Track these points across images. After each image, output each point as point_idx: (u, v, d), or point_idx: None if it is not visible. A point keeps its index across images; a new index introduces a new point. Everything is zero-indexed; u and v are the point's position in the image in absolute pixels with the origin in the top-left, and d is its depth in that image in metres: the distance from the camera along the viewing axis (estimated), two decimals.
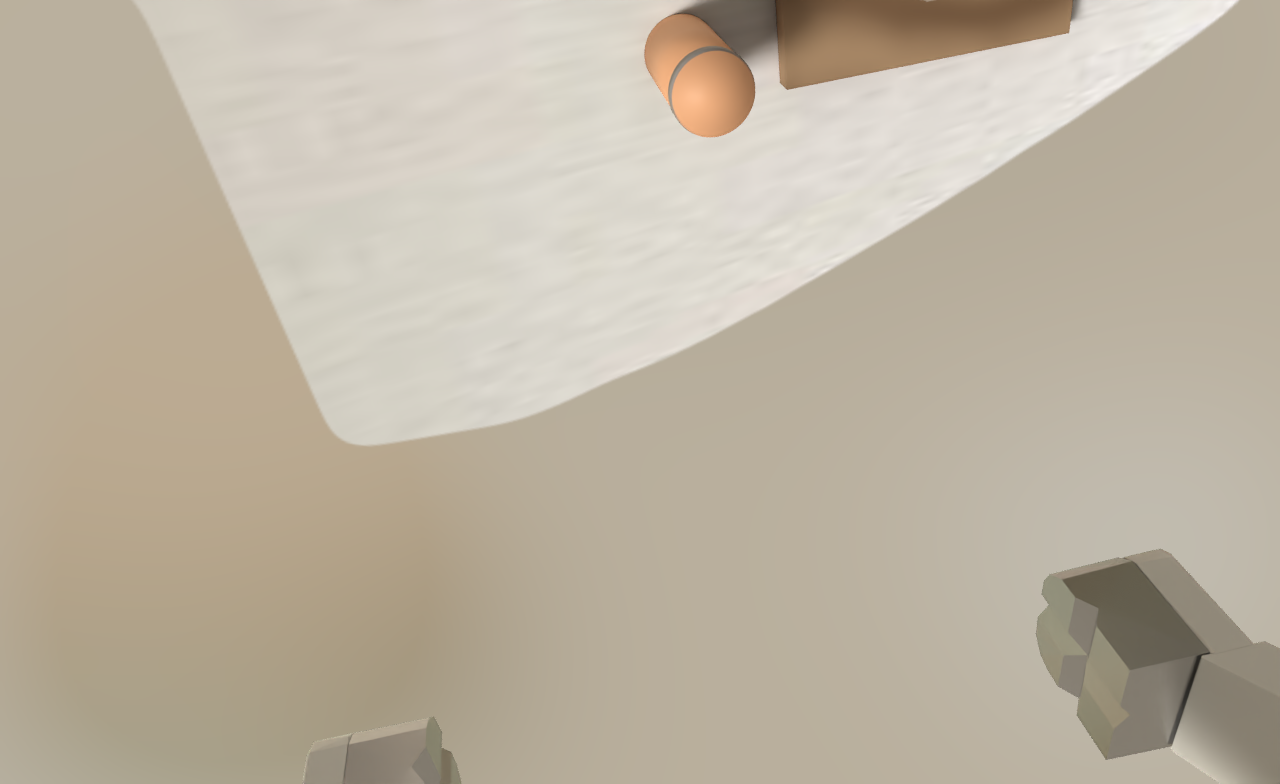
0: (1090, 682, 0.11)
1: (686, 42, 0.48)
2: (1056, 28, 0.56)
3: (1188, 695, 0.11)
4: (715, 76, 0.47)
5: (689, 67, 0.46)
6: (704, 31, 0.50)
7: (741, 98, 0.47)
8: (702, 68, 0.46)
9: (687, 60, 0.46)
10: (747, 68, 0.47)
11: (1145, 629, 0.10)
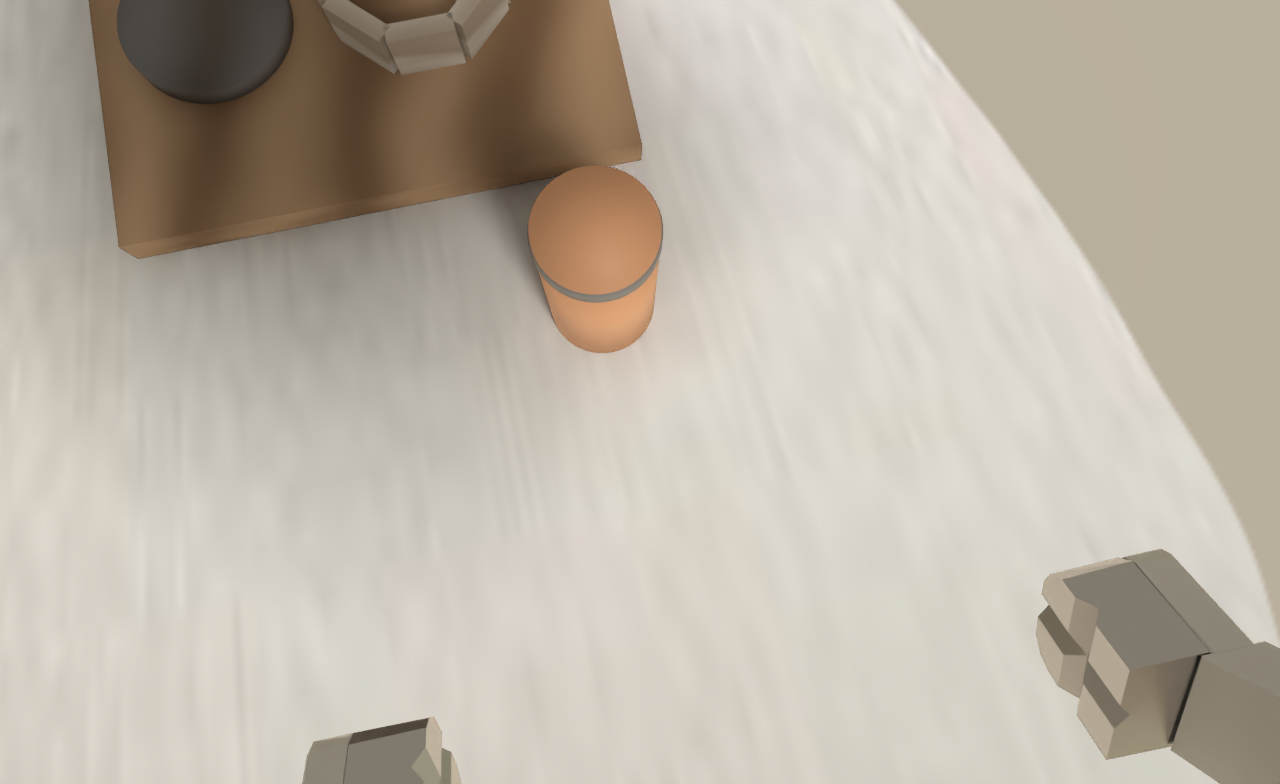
0: (1090, 682, 0.11)
1: (544, 285, 0.32)
2: None
3: (1188, 695, 0.11)
4: (565, 229, 0.30)
5: (552, 270, 0.30)
6: None
7: (599, 185, 0.30)
8: (553, 250, 0.30)
9: (545, 274, 0.30)
10: (553, 181, 0.30)
11: (1145, 629, 0.10)
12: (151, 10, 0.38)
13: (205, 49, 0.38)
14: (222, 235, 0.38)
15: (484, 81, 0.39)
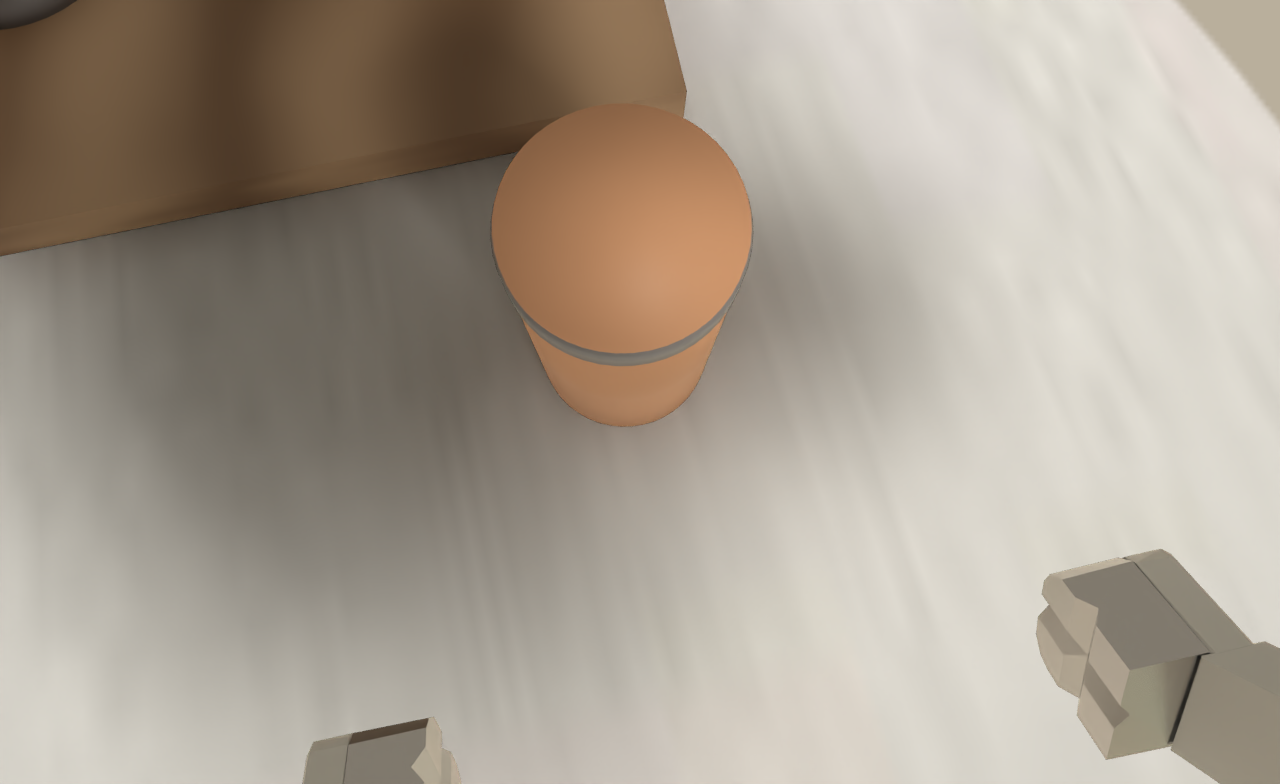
0: (1090, 682, 0.11)
1: (527, 328, 0.18)
2: None
3: (1189, 696, 0.10)
4: (564, 225, 0.15)
5: (538, 306, 0.15)
6: None
7: (628, 141, 0.16)
8: (541, 267, 0.15)
9: (526, 314, 0.15)
10: (540, 134, 0.16)
11: (1145, 629, 0.10)
12: None
13: None
14: (13, 242, 0.24)
15: None
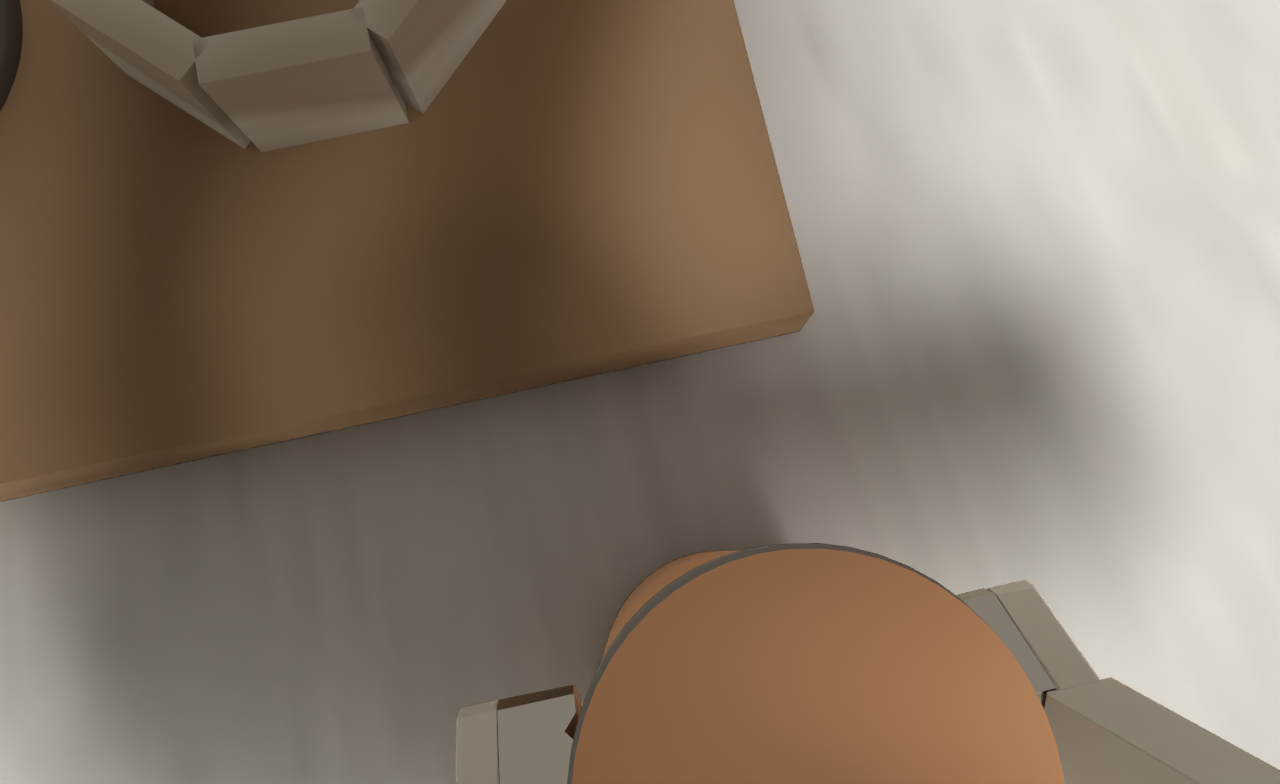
0: None
1: None
2: None
3: None
4: None
5: None
6: None
7: (826, 626, 0.08)
8: None
9: None
10: (659, 612, 0.08)
11: None
12: None
13: None
14: None
15: (450, 165, 0.17)
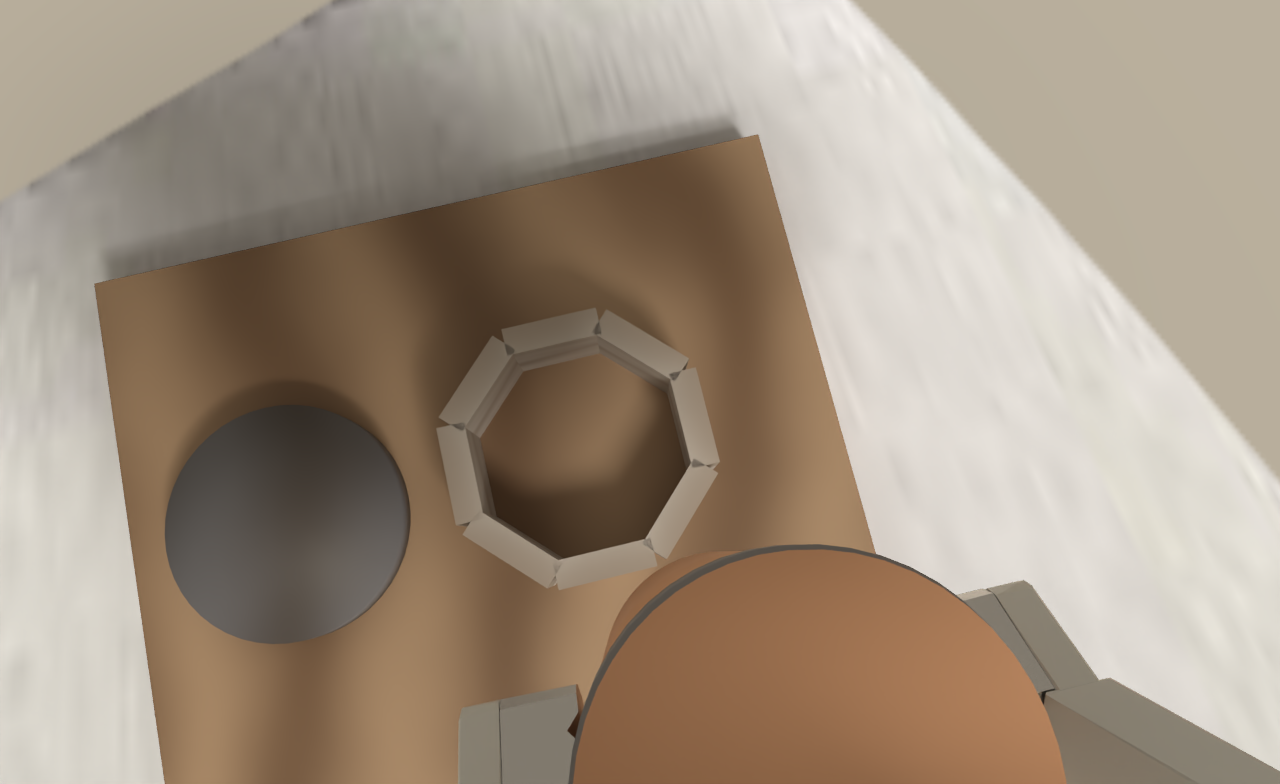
0: None
1: None
2: (752, 161, 0.30)
3: None
4: None
5: None
6: None
7: (828, 627, 0.08)
8: None
9: None
10: (660, 613, 0.08)
11: None
12: (213, 516, 0.27)
13: (292, 575, 0.26)
14: None
15: None
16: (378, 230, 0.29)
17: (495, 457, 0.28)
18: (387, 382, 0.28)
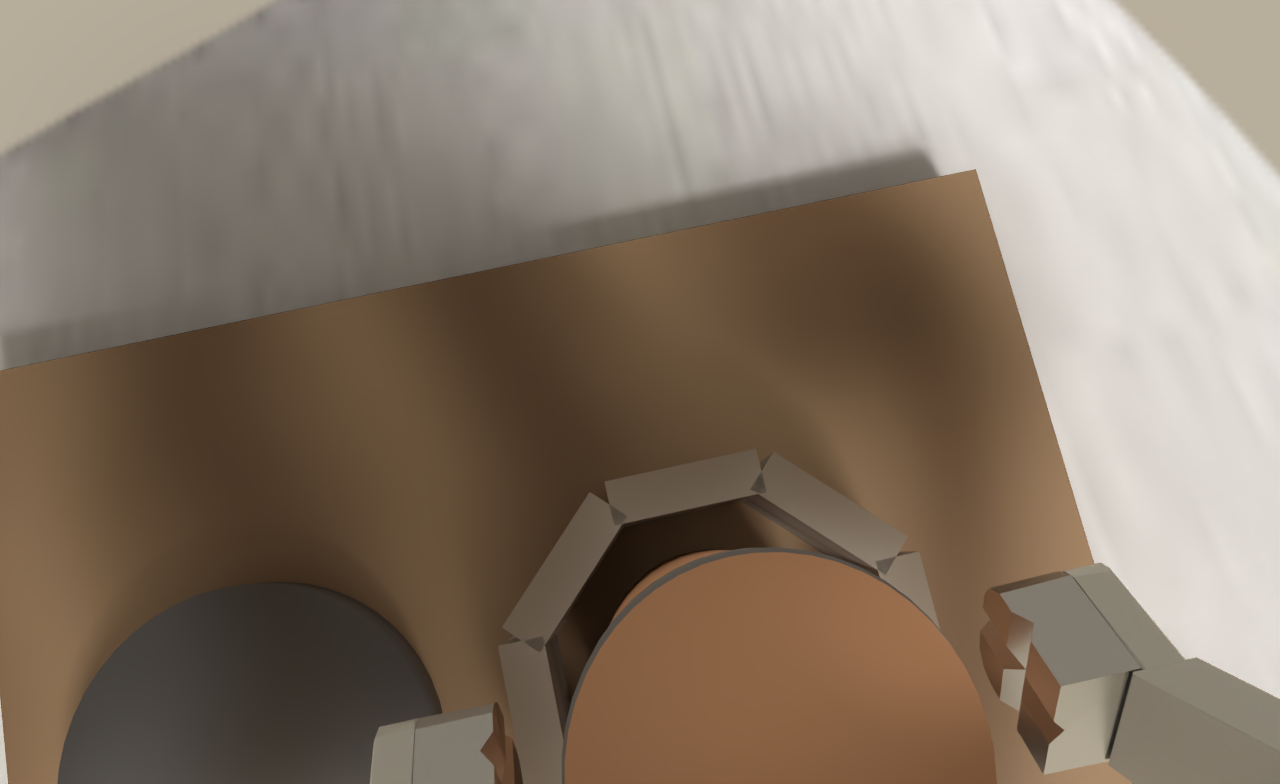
0: (1028, 697, 0.11)
1: None
2: (968, 209, 0.20)
3: (1123, 711, 0.10)
4: (685, 774, 0.09)
5: None
6: None
7: (787, 620, 0.09)
8: None
9: None
10: (641, 608, 0.10)
11: (1079, 644, 0.10)
12: (135, 766, 0.17)
13: None
14: None
15: None
16: (405, 303, 0.19)
17: (580, 663, 0.18)
18: (415, 541, 0.18)
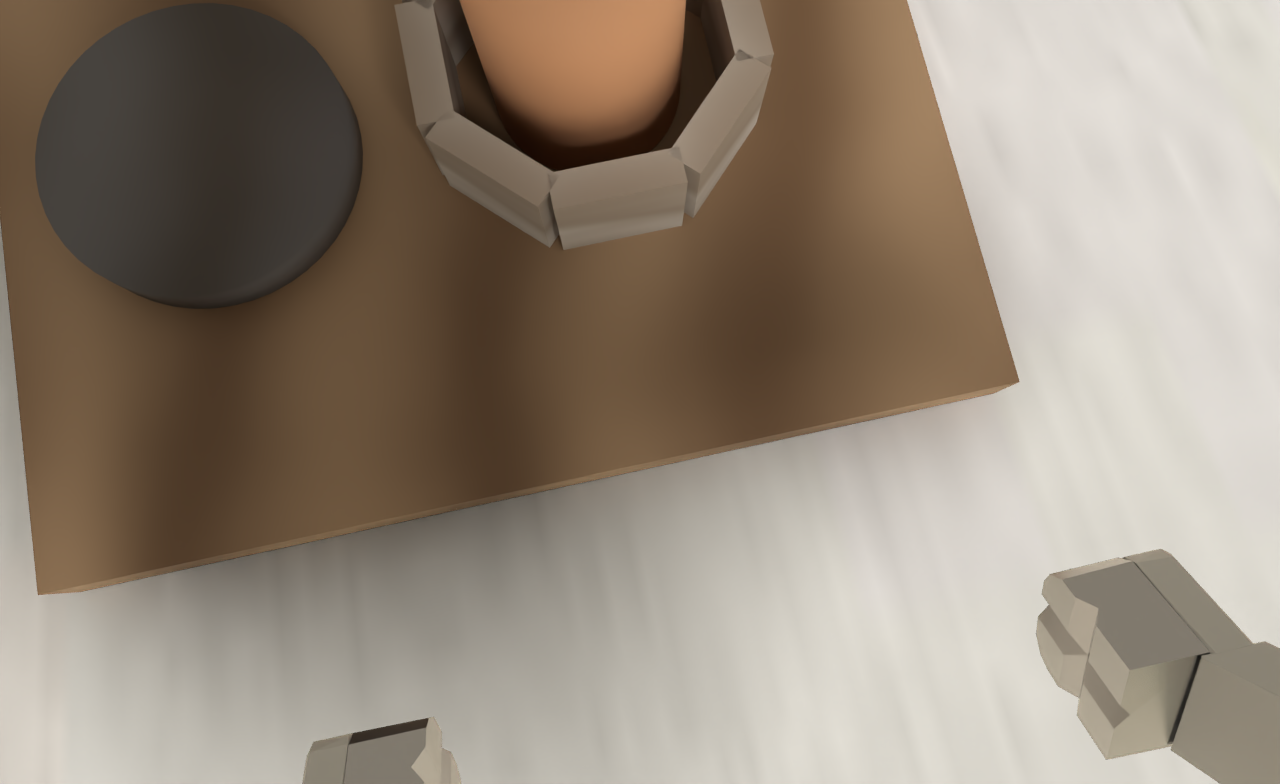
0: (1090, 682, 0.11)
1: None
2: None
3: (1188, 695, 0.11)
4: None
5: None
6: None
7: None
8: None
9: None
10: None
11: (1145, 629, 0.10)
12: (100, 137, 0.20)
13: (201, 212, 0.20)
14: (235, 555, 0.20)
15: (717, 260, 0.21)
16: None
17: (475, 89, 0.22)
18: None
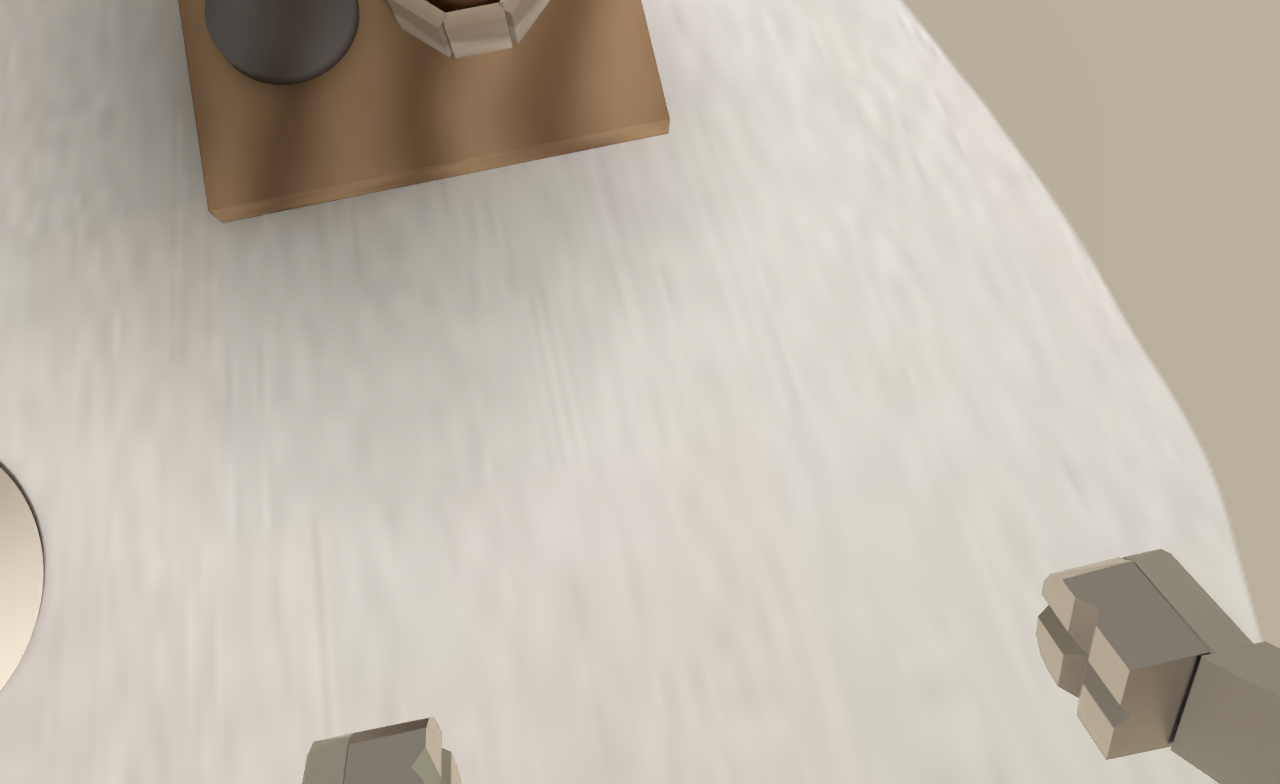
0: (1090, 682, 0.11)
1: None
2: None
3: (1188, 695, 0.11)
4: None
5: None
6: None
7: None
8: None
9: None
10: None
11: (1145, 628, 0.10)
12: (235, 2, 0.43)
13: (283, 36, 0.43)
14: (298, 201, 0.43)
15: (529, 63, 0.44)
16: None
17: None
18: None
